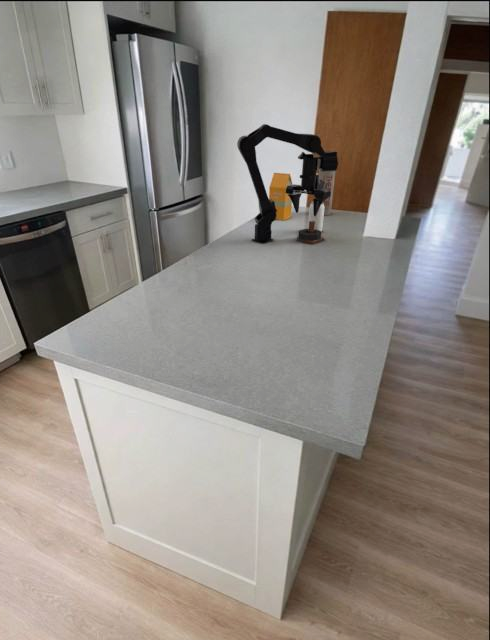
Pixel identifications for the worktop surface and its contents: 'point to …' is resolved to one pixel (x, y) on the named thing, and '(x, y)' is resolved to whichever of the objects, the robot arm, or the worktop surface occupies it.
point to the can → (317, 216)
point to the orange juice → (281, 195)
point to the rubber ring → (306, 236)
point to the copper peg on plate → (311, 230)
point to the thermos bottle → (329, 184)
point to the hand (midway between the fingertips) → (305, 214)
